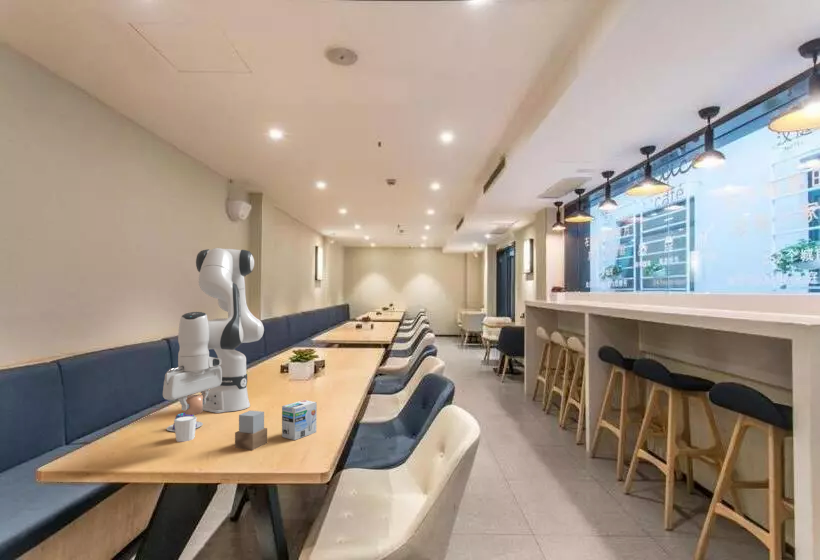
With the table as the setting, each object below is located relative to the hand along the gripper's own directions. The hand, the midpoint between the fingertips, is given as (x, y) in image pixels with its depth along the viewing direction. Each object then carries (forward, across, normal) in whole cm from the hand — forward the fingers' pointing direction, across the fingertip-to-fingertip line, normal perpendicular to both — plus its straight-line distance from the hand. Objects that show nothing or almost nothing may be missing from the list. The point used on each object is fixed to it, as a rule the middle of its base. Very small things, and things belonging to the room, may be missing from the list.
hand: (193, 407), depth 137 cm
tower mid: (+9, +10, -14) cm, 19 cm away
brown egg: (+2, 0, 0) cm, 2 cm away
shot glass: (+14, +7, +12) cm, 20 cm away
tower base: (+14, +9, -14) cm, 22 cm away
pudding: (+15, +17, +23) cm, 32 cm away
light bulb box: (+14, +23, -23) cm, 36 cm away
